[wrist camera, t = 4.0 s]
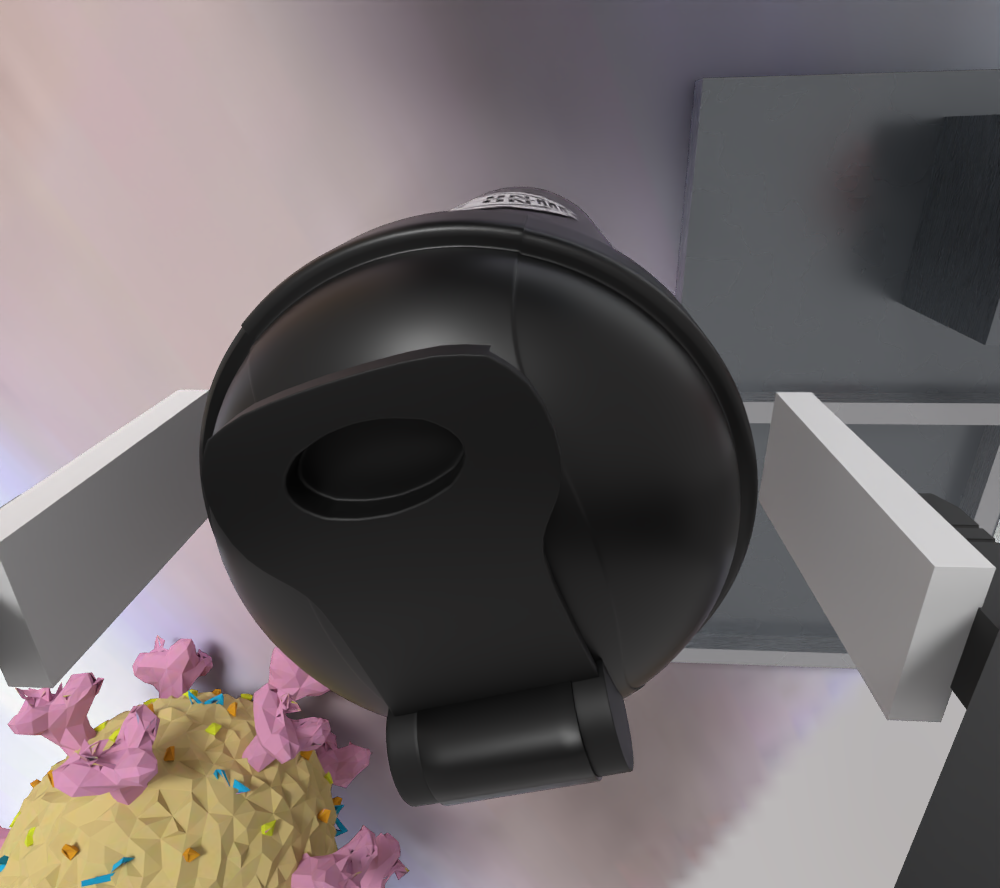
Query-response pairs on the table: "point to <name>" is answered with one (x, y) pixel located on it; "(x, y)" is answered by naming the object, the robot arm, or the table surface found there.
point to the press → (847, 298)
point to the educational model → (190, 789)
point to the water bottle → (480, 488)
